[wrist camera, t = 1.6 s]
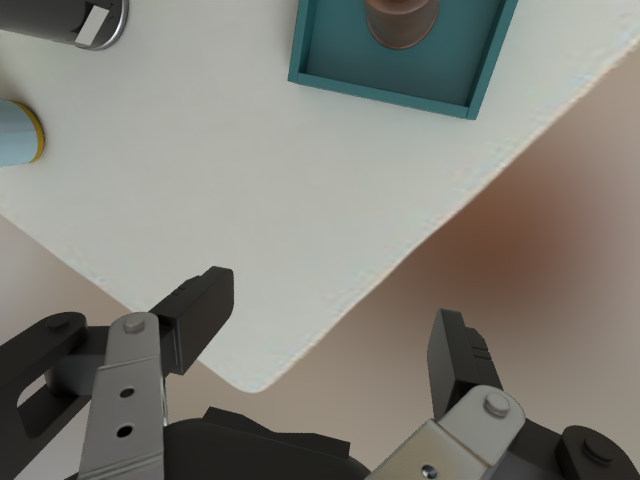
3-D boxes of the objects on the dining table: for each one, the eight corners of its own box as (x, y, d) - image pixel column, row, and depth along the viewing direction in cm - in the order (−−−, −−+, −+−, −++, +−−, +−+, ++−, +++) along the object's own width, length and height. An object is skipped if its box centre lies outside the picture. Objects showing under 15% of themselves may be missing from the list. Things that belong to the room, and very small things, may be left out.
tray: (297, 83, 31) (287, 80, 28) (327, -107, 26) (318, -134, 23) (468, 119, 29) (475, 120, 26) (537, -80, 24) (555, -106, 21)
